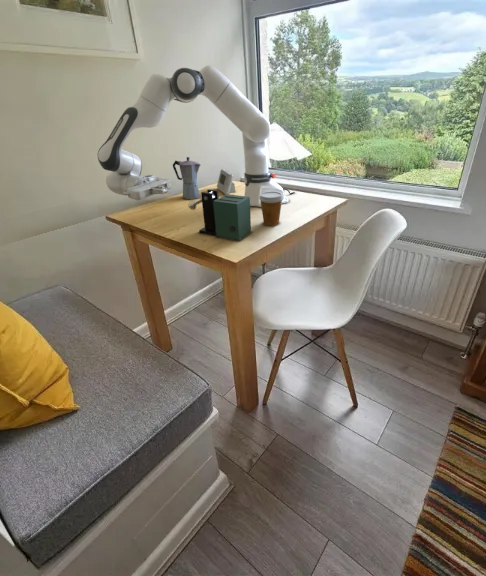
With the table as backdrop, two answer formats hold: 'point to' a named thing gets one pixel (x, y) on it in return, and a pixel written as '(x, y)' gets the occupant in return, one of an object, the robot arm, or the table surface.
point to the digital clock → (226, 182)
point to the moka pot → (188, 178)
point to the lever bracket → (209, 212)
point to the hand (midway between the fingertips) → (165, 191)
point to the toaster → (232, 217)
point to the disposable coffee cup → (271, 207)
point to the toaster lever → (193, 205)
